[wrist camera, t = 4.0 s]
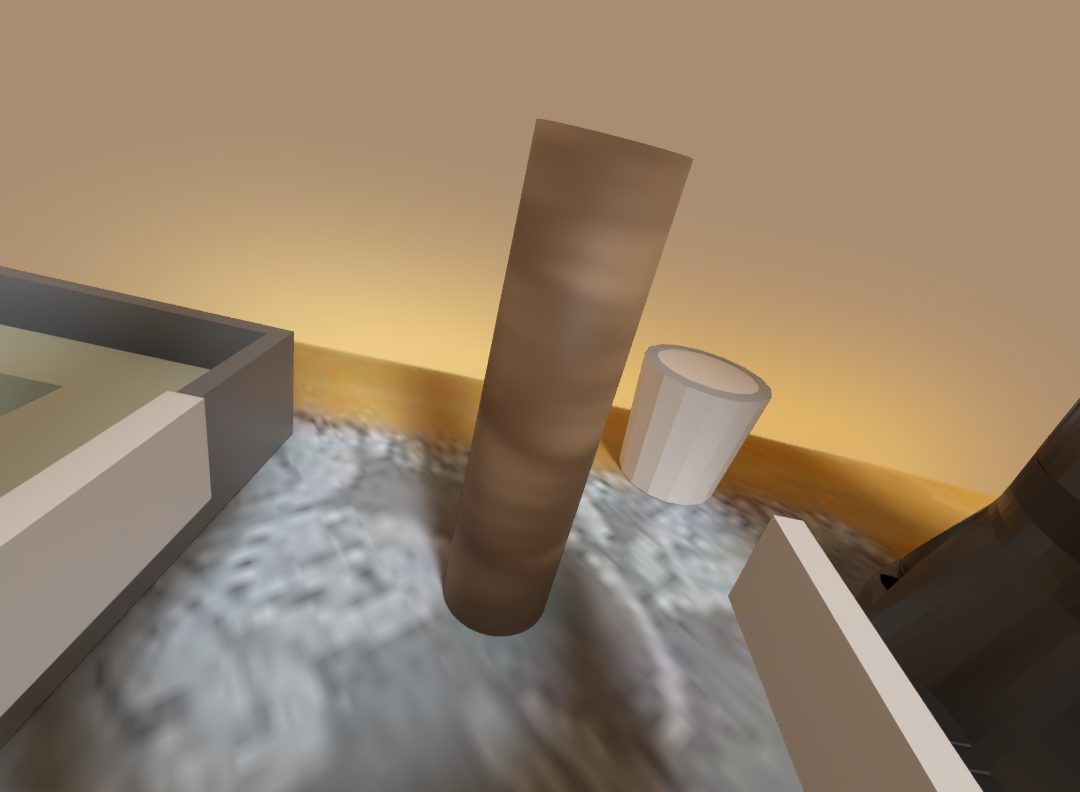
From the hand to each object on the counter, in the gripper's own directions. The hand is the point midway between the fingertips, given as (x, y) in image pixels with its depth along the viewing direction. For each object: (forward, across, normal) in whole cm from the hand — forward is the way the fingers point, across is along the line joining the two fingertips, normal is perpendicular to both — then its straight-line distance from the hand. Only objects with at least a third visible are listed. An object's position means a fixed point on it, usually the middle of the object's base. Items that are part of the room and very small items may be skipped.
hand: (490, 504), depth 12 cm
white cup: (+16, +10, -8) cm, 20 cm away
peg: (+5, +1, -8) cm, 9 cm away
